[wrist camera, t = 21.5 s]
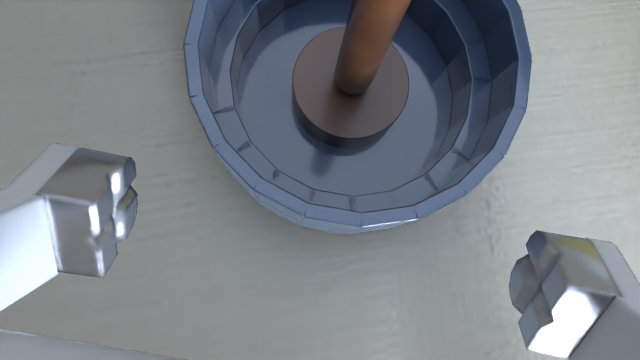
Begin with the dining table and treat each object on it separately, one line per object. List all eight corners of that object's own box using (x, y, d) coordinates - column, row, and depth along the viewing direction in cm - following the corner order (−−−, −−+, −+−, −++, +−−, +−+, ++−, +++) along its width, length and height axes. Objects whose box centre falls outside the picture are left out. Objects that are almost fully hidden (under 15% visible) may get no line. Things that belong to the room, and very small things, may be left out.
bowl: (181, 206, 25) (148, 189, 19) (237, -49, 27) (224, -135, 21) (459, 256, 25) (512, 254, 20) (490, 1, 28) (546, -69, 22)
